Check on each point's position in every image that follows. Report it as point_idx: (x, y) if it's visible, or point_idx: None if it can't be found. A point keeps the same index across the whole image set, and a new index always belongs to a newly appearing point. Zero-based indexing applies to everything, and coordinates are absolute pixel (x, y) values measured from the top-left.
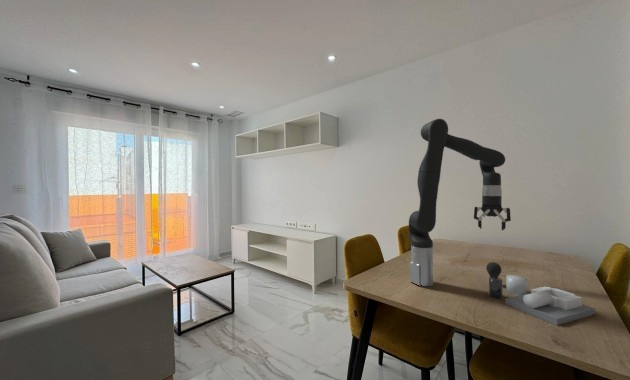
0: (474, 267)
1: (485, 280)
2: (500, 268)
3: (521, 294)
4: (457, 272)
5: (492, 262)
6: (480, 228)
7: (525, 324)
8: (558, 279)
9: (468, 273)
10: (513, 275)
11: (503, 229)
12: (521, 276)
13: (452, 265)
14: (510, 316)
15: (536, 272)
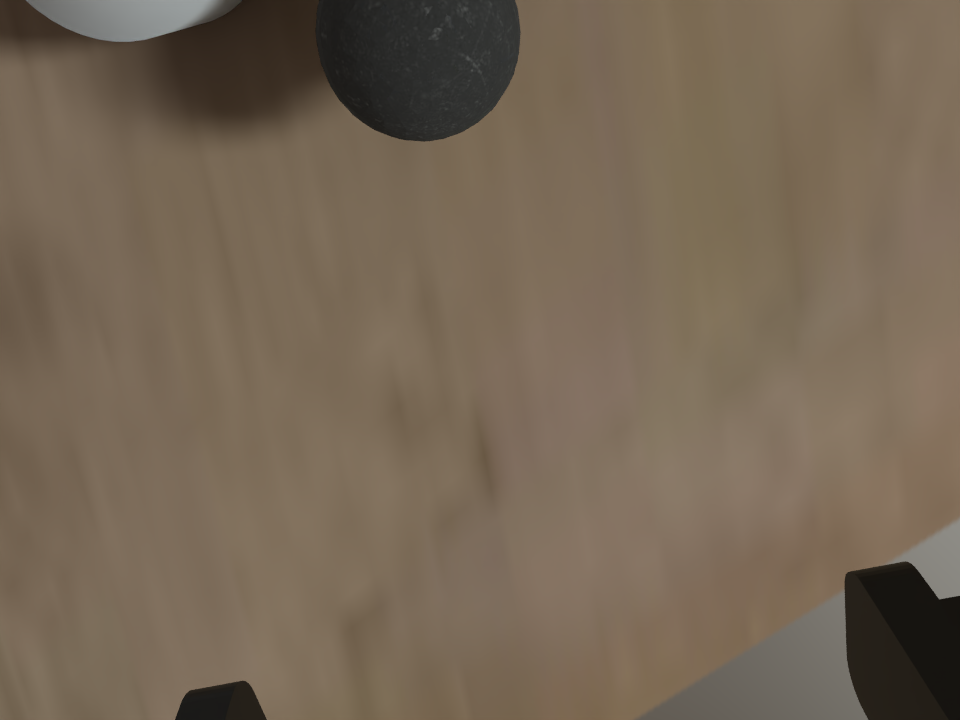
0: (706, 511)
1: (530, 113)
2: (318, 12)
3: None
4: (856, 204)
5: (432, 35)
6: (880, 569)
7: None
8: (6, 617)
9: (736, 252)
10: (164, 2)
11: (187, 701)
12: (75, 31)
13: (933, 435)
14: None
15: None
